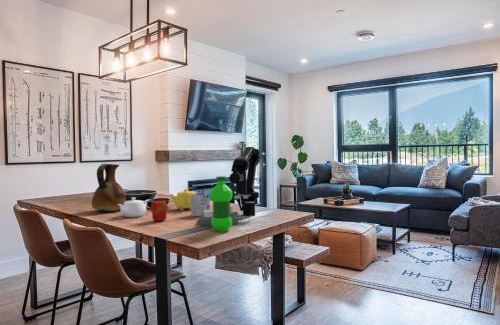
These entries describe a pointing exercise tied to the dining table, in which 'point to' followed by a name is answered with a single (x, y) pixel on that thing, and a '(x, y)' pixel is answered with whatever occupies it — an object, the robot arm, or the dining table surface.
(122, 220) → the dining table surface
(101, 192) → the ceramic pitcher
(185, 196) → the teapot
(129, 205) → the teapot
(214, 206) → the plastic bottle
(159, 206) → the red rounded piece
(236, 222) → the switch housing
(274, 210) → the dining table surface
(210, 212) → the pale grey cube
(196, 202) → the ink cartridge box
